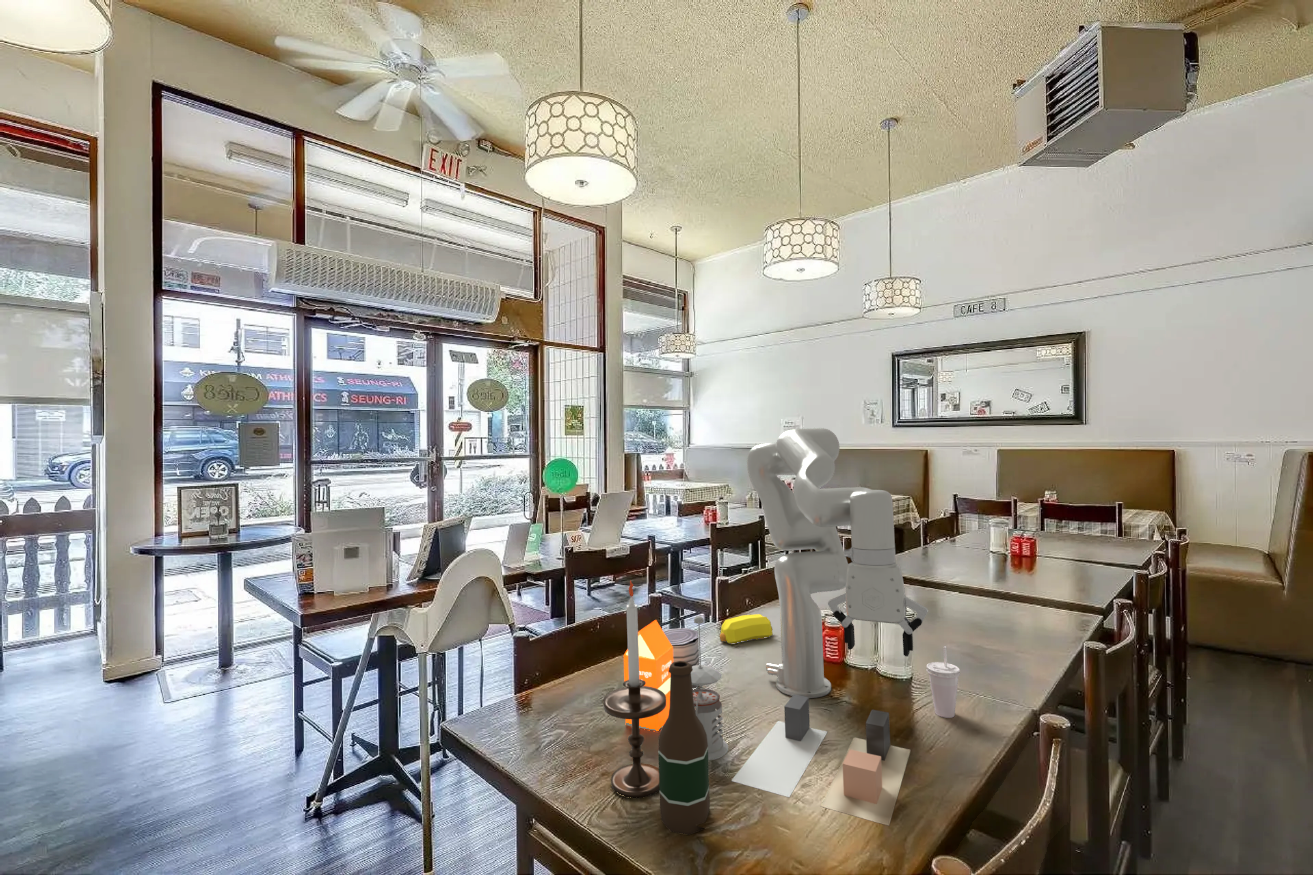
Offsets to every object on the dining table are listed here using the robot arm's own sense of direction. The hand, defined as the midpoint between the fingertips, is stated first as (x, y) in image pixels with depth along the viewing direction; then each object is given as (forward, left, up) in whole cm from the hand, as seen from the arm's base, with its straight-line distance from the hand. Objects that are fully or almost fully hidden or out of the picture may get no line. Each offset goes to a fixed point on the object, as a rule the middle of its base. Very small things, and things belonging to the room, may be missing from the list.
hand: (878, 650), depth 107 cm
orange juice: (-45, -7, -19) cm, 50 cm away
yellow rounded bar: (-46, +50, -20) cm, 71 cm away
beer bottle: (-23, -33, -19) cm, 45 cm away
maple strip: (0, -10, -19) cm, 22 cm away
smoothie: (+9, +23, -19) cm, 31 cm away
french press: (-30, -13, -19) cm, 38 cm away
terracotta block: (0, -15, -18) cm, 23 cm away
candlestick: (-35, -28, -19) cm, 49 cm away
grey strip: (-15, -10, -19) cm, 26 cm away
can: (-49, +12, -19) cm, 54 cm away
